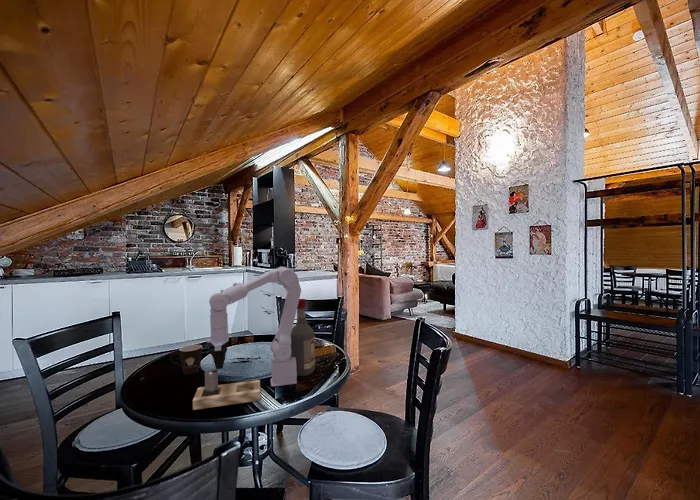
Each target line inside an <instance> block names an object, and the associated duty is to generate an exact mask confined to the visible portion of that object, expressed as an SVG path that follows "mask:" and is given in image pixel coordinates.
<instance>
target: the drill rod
mask: <svg viewBox="0 0 700 500" xmlns="http://www.w3.org/2000/svg"><path fill="white" fill-rule="evenodd" d="M218 376H219V375H218V369H216V368H215V369H213V368H212V369H208V370H205V371H204V387H205V396H211V395H218V385H219V380H218Z"/></svg>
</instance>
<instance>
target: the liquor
mask: <svg viewBox="0 0 700 500" xmlns="http://www.w3.org/2000/svg"><path fill="white" fill-rule="evenodd" d="M306 306H307V305H306V298H299V303H298V307H297V311H296V316H297V317H296V323H295V324H294V325H293V328H292V332H291V356H290V357H295V358H296V371H297V377H298V376H299V377H307V376H311V374H312V373H313V372H314V371H315V369H316V348H315V347H316V344H315V343H316V342H315V341H316V340H315V337H316V336H315V329H313V328H312V326H311V325H310V324H308V322H307V319H306Z"/></svg>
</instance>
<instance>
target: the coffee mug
mask: <svg viewBox="0 0 700 500" xmlns="http://www.w3.org/2000/svg"><path fill="white" fill-rule="evenodd" d="M202 352H203V345H201V344H189V345H185V346H182V347H180V348H179V352H176V351H175V352H172V353H170V354H169V360H170V362H172V363H173V364H175V365H176V366H180V367H181V368H182V374H184V375H193V374H197V373H199V372H200V371H199V367H200V368H201V362H202ZM173 355H177V356H179V357H180V362H181V364H180V363H179V362H176V361H175V360H173V359H172V357H173Z"/></svg>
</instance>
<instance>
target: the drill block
mask: <svg viewBox="0 0 700 500" xmlns="http://www.w3.org/2000/svg"><path fill="white" fill-rule="evenodd" d="M258 401H261V379H255V380H249V381H248V380H247V381H246V380H245V381H240V382H232V383H225V384H218V395H211V396H205V386H200V387H198V388H197V390H196V391H195V394H194V396H193V398H192V410H193V411H195V410H203V409H209V408H216V407H224V406H229V405H230V406H231V405H237V404H245V403H252V402H258Z"/></svg>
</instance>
